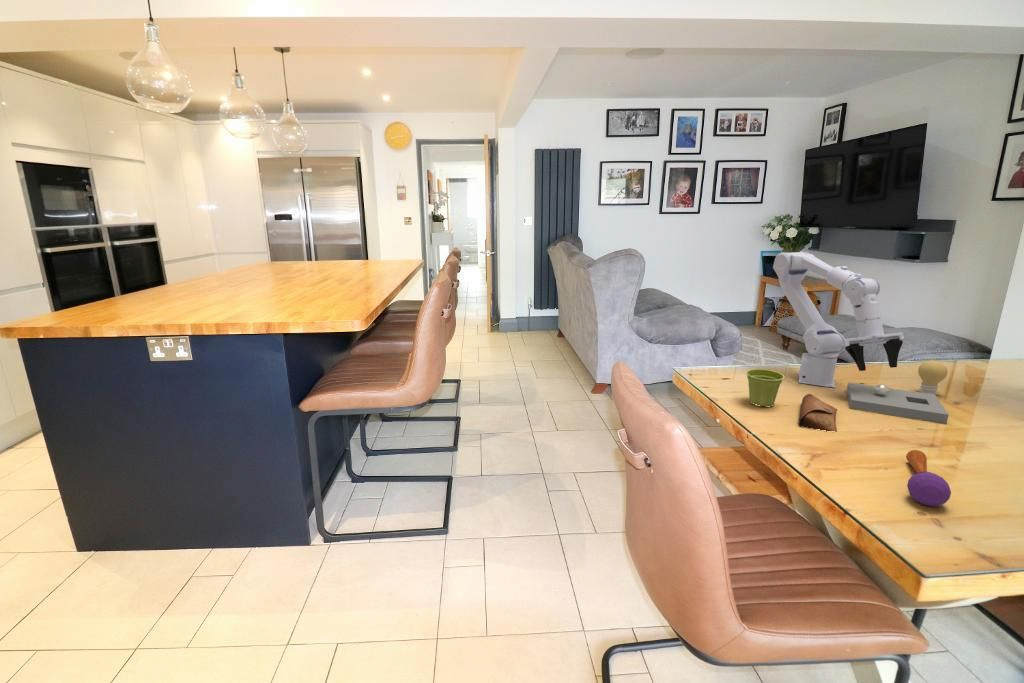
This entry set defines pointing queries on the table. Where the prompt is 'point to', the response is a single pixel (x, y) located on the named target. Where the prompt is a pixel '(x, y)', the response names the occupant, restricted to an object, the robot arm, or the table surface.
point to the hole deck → (897, 403)
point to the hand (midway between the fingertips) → (878, 369)
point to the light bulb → (931, 376)
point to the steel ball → (881, 389)
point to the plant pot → (763, 386)
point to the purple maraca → (926, 482)
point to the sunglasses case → (817, 414)
